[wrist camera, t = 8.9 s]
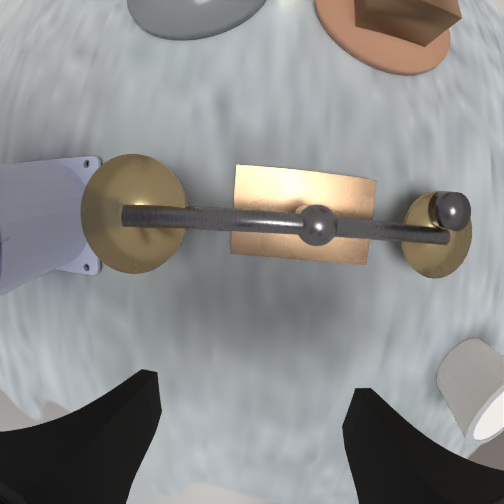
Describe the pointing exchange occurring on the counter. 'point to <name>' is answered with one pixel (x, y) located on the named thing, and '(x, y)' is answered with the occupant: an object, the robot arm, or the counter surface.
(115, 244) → the balance
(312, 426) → the counter surface
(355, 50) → the terracotta dish
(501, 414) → the shot glass
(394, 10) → the walnut block
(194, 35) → the slate dish
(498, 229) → the counter surface
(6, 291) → the robot arm
